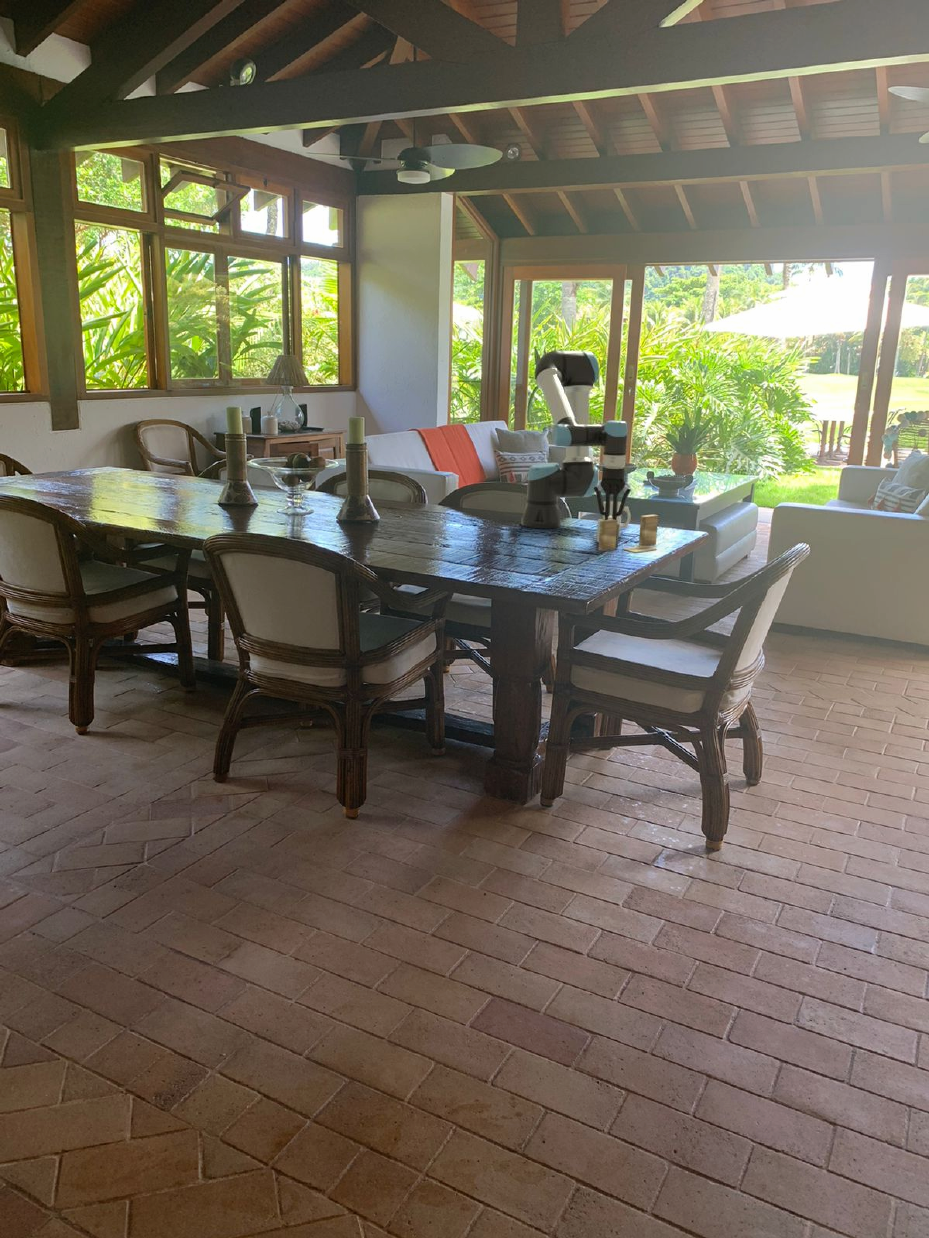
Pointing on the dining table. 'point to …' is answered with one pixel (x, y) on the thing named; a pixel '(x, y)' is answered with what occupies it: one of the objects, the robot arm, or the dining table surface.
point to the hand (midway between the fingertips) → (609, 535)
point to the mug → (619, 516)
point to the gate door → (616, 533)
